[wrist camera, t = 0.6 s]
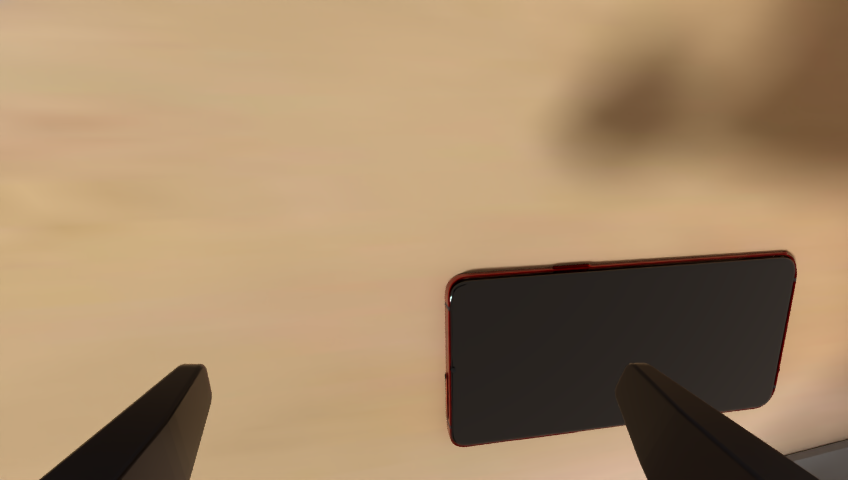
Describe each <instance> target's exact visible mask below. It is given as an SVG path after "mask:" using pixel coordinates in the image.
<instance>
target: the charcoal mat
mask: <svg viewBox="0 0 848 480" xmlns="http://www.w3.org/2000/svg"><path fill="white" fill-rule="evenodd" d="M786 457H787V458H789V459H790V460H792V461H793V462H795V463H796V464H798V465H799V466H801V467H802V468H804V469H805V470H807V471H808V472H810V473H811V474H812V475H814V476H815V477H817V478H818V479H820V480H848V440H845V441H841V442H837V443H833V444H829V445H825V446H821V447H817V448H814V449H810V450H806V451H802V452H798V453H794V454H790V455H786Z"/></svg>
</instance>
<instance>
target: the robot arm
mask: <svg viewBox="0 0 848 480" xmlns="http://www.w3.org/2000/svg"><path fill="white" fill-rule="evenodd" d="M615 395H616V400H617V402H618V405H619V408H620V410H621V413H622V416H623V419H624V421H625V424H626V427H627V430H628V432H629V435H630V438H631V440H632V443H633V446H634V449H635V451H636V454H637V457H638V459H639V462H640V464H641V466H642V469H643V471H644V473H645V475H646V478H647V480H820V479H818V478H817V477H815V476H814V475H812V474H811V473H810V472H808V471H807V470H805V469H804V468H802V467H801V466H799V465H798V464H796V463H795V462H793V461H792V460H790V459H789V458H787V457H786V456H784V455H783V454H781V453H780V452H778V451H777V450H775V449H774V448H772V447H771V446H770V445H768V444H767V443H765V442H764V441H762V440H761V439H759V438H758V437H756V436H755V435H753V434H752V433H750V432H749V431H747V430H746V429H744V428H743V427H741V426H740V425H738V424H737V423H735V422H734V421H732V420H731V419H729V418H728V417H727V416H725V415H724V414H722V413H721V412H719V411H718V410H716V409H715V408H713V407H712V406H710V405H709V404H707V403H706V402H704V401H703V400H701V399H700V398H698V397H697V396H695V395H694V394H692V393H691V392H689V391H688V390H687V389H685V388H684V387H682V386H681V385H679V384H678V383H676V382H675V381H673V380H672V379H670V378H669V377H667V376H666V375H664V374H663V373H661V372H660V371H658V370H657V369H655V368H654V367H652V366H651V365H649V364H647V363H629V364H628V365H627V366H626V367H625V369H624V371H623V373H622V375H621V377H620V379H619V381H618V383H617V385H616V388H615ZM211 399H212V392H211V387H210V383H209V378H208V374H207V369H206V367H205V366H204V365H203V364H182V365H180V366H178V367H177V368H175V369H174V370H173V371H172V372H171V373H169V374H168V375H167V376H166V377H164V378H163V379H162V380H161V381H160V382H158V383H157V384H156V385H155V386H153V387H152V388H151V389H150V390H149V391H147V392H146V393H145V394H144V395H142V396H141V397H140V398H139V399H138V400H136V401H135V402H134V403H133V404H131V405H130V406H129V407H128V408H126V409H125V410H124V411H123V412H122V413H120V414H119V415H118V416H117V417H115V418H114V419H113V420H112V421H111V422H109V423H108V424H107V425H106V426H104V427H103V428H102V429H101V430H100V431H98V432H97V433H96V434H95V435H93V436H92V437H91V438H90V439H88V440H87V441H86V442H85V443H84V444H82V445H81V446H80V447H79V448H77V449H76V450H75V451H74V452H73V453H71V454H70V455H69V456H68V457H66V458H65V459H64V460H63V461H62V462H60V463H59V464H58V465H57V466H55V467H54V468H53V469H52V470H51V471H49V472H48V473H47V474H46V475H44V476H43V477H42V478H41V479H39V480H190V477H191V473H192V470H193V466H194V463H195V459H196V455H197V452H198V448H199V445H200V441H201V437H202V434H203V430H204V427H205V423H206V419H207V416H208V412H209V408H210V405H211Z"/></svg>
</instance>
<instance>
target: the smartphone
mask: <svg viewBox="0 0 848 480" xmlns="http://www.w3.org/2000/svg"><path fill="white" fill-rule="evenodd" d="M774 255H775V256H774ZM778 255H784V256H785V257H783V256H778ZM739 257H741V258H739ZM725 258H726V259H725ZM711 259H712V260H711ZM796 277H797V269H796V263H795V261H794V259H793V258H792V257H791V256H790V255H788V254H787V252H786V251H782V252H781V251H779V252H764V253H749V254H736V255H721V256H707V257H692V258H677V259H663V260H648V261H634V262H620V263H606V264H591V265H589V264H576V265H562V266H553V267H548V268H534V269H520V270H506V271H491V272H477V273H464V274H459V275H457V276H455V277H453V278H452V279H451V280H450V281H449V282H448V284H447V286H446V290H445V335H446V373H445V385H446V418H447V429H448V433H449V436H450V439H451V441H452V443H453V444H455V445H456V446H459V447H469V446H476V445H483V444H490V443H498V442H505V441H512V440H522V439H529V438H537V437H544V436H552V435H559V434H567V433H574V432H579V431H586V430H594V429H601V428H608V427H616V426H623V425H626V424H625V421H624V419H623V416H622V413H621V410H620V408H619V405H618V402H617V400H616V395H615V388H616V385H617V383H618V381H619V379H620V377H621V375H622V373H623V371H624V369H625V367H626V366H627V365H628V364H629V363H647V364H649V365H651V366H652V367H654V368H655V369H657V370H658V371H660V372H661V373H663V374H664V375H666V376H667V377H669V378H670V379H672V380H673V381H675V382H676V383H678V384H679V385H681V386H682V387H684V388H685V389H687V390H688V391H689V392H691V393H692V394H694V395H695V396H697V397H698V398H700V399H701V400H703V401H704V402H706V403H707V404H709V405H710V406H712V407H713V408H715V409H716V410H718V411H719V412H721V413H724V412H732V411H740V410H748V409H755V408H759V407H761V406H763V405H765V404H766V403H767V402H768V401H769V400H770V398H771V397H772V395H773V393H774V391H775V387H776V383H777V378H778V373H779V371H780V363H781V357H782V352H783V347H784V342H785V337H786V332H787V326H788V321H789V316H790V311H791V305H792V300H793V295H794V289H795V284H796Z"/></svg>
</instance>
